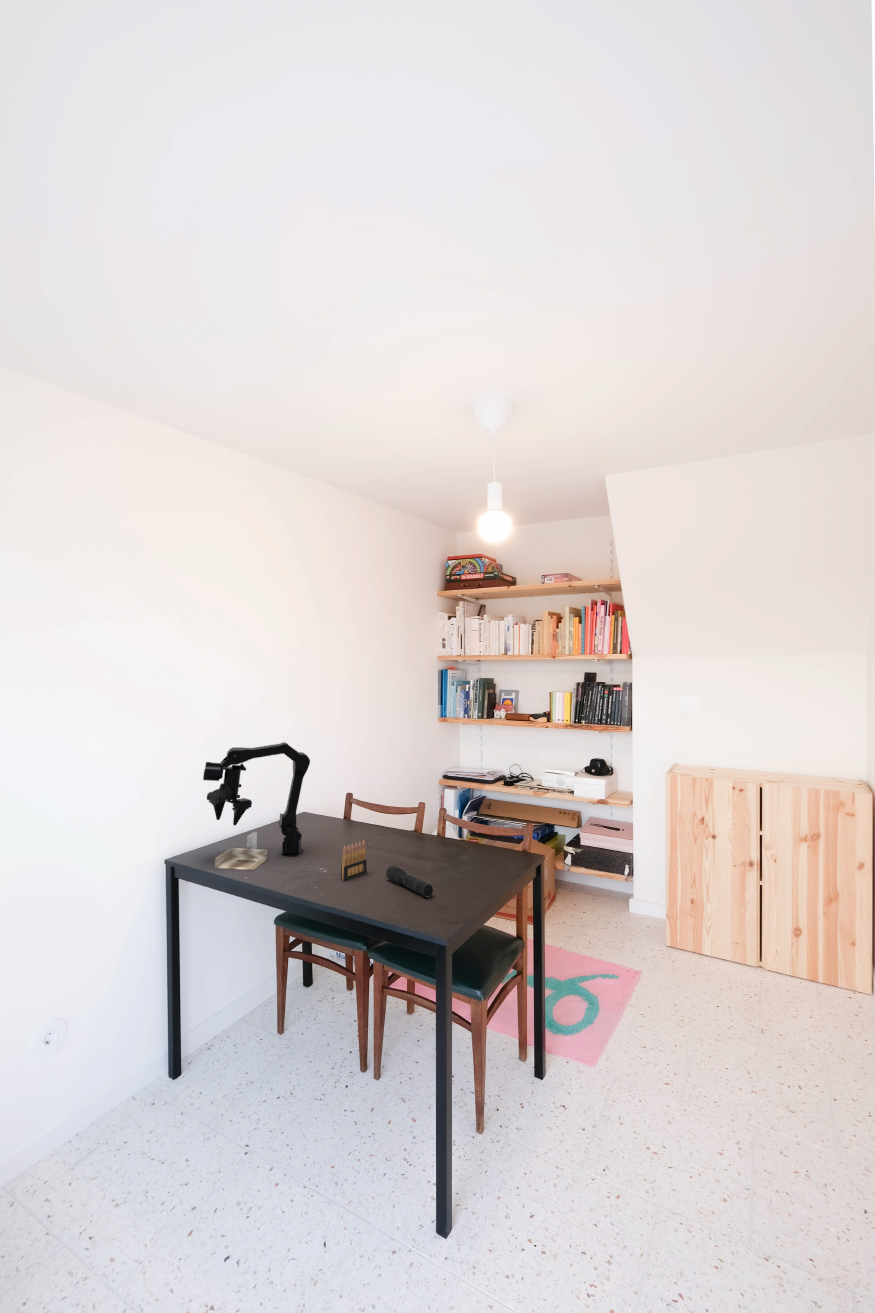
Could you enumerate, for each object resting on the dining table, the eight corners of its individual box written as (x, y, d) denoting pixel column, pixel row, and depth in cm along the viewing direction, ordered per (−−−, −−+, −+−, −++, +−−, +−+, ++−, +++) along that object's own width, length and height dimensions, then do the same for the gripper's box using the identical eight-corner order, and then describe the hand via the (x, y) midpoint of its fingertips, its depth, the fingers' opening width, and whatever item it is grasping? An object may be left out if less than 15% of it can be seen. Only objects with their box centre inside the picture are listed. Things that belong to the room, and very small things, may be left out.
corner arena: (267, 859, 224) (267, 850, 224) (254, 870, 212) (254, 861, 212) (229, 857, 225) (230, 848, 225) (214, 868, 214) (214, 858, 214)
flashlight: (396, 878, 208) (396, 864, 208) (433, 896, 192) (434, 881, 192) (385, 881, 205) (385, 867, 205) (422, 900, 189) (422, 885, 189)
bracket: (256, 852, 232) (257, 832, 232) (250, 857, 226) (250, 836, 226) (241, 851, 232) (241, 831, 232) (234, 856, 226) (234, 836, 226)
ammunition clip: (343, 881, 203) (344, 847, 203) (340, 880, 204) (340, 845, 204) (366, 873, 211) (367, 840, 211) (363, 872, 212) (363, 839, 212)
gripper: (197, 778, 220) (192, 820, 219) (231, 788, 211) (226, 831, 210) (221, 776, 230) (216, 816, 229) (255, 785, 221) (249, 826, 220)
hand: (226, 822), depth 222 cm, fingers open, 9 cm apart
